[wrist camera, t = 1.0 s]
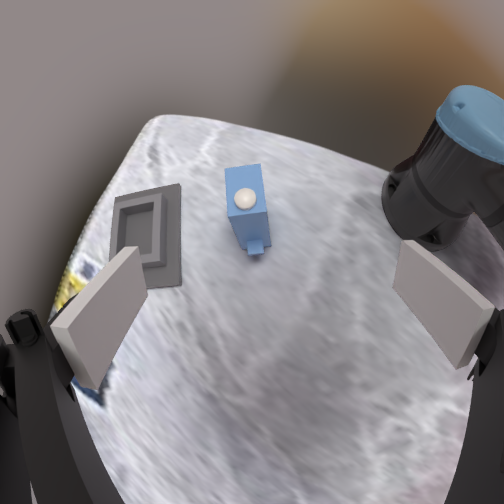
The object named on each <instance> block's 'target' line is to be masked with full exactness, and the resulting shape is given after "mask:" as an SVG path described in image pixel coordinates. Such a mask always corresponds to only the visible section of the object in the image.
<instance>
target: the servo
mask: <svg viewBox="0 0 504 504" xmlns="http://www.w3.org/2000/svg"><path fill="white" fill-rule="evenodd" d="M225 182H226V198H227V213H228V218H229V221H230V223H231V225H232V227H233V230H234V232H235V234H236V237H237V239H238V241H239V243H240V246H241V248H242V250H244V249H247V250H248V256H252V255H260V254H264V248H263V247H268V246H271V241H270V233H269V224H268V216H267V208H266V201H265V194H264V186H263V179H262V172H261V165H260V164H254V165H247V166H240V167H233V168H226V169H225Z"/></svg>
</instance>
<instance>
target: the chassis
mask: <svg viewBox="0 0 504 504" xmlns="http://www.w3.org/2000/svg"><path fill="white" fill-rule="evenodd" d="M180 207H181V186H180V184H179V183H178V184H173V185H168V186H163V187H158V188H153V189H149V190H144V191H140V192H135V193H131V194H127V195H123V196H119V197H115V202H114V210H113V218H112V228H111V239H110V253H109V262H110V261H111V260H112V259H113V258H114V257H115V256H116V255H117V254H118V253H119V252H120V251H121V250H122V249H123V248H124V247H132V246H138V247H139V253H140V258H141V264H142V269H143V274H144V279H145V284H146V288H147V289H148V288H159V287H169V286H179V285H181V248H180Z"/></svg>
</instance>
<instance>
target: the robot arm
mask: <svg viewBox="0 0 504 504" xmlns="http://www.w3.org/2000/svg"><path fill="white" fill-rule="evenodd" d="M436 113H437V114H436V117H435V119H434V121H433V123H432V124H431V126H430V128H429V130H428V132H427V134H426V135H425V137H424V139H423V140H422V142H421V144H420V146H419V147H418V149H417V151H416V152H415V154H414V155H412V156H411V157H409V158H407V159H406V160H404V161H402V162H401V163H399V164H398V165H396V166H395V167H394V168H393V169H392V170H391V172H390V173H389V175H388V177H387V178H386V180H385V182H384V185H383V189H382V204H383V208H384V212H385V214H386V217H387V219H388V221H389V223H390V224H391V226H392V227H393V229H394V230H395V231H396V232H397V234H398V235H399V236H400V237H401V238H402V239H403V240H401V246H400V252H399V258H398V263H397V268H396V273H395V278H394V283H393V287H392V288H393V289H394V290H395V291H396V292H397V294H398V295H399V296H400V297H401V298H402V300H403V301H404V302H405V303H406V304H407V306H408V307H409V308H410V309H411V311H412V312H413V313H414V314H415V316H416V317H417V318H418V319H419V321H420V322H421V323H422V325H423V326H424V327H425V328H426V330H427V331H428V332H429V334H430V335H431V336H432V338H433V339H434V340H435V342H436V343H437V344H438V346H439V347H440V348H441V350H442V351H443V352H444V354H445V355H446V357H447V358H448V359H449V361H450V362H451V364H452V365H453V367H454V368H455V369H458V368H461V367H464V366H467V365H468V364H469V363H470V361H471V359H472V357H473V355H474V353H475V354H476V355H477V357H478V360H477V361H476V363H475V365H474V367H473V369H472V370H471V372H470V374H469V376H468V378H467V380H469V379H470V378H471V376H472V375H474V378H473V380H472V381H473V390H472V398H471V405H470V412H469V418H468V423H467V428H466V433H465V438H464V442H463V446H462V450H461V454H460V458H459V462H458V465H457V468H456V472H455V475H454V478H453V481H452V484H451V487H450V490H449V492H448V495H447V498H446V500H445V503H444V504H504V309H502V310H501V311H499V310H498V309H497V308H495V306H494V305H493V304H492V303H491V302H489V301H488V300H487V299H486V298H485V297H484V296H483V295H482V294H480V293H479V292H478V291H477V290H476V289H475V288H474V287H472V286H471V285H470V284H469V283H468V282H467V281H465V280H464V279H463V278H462V277H461V276H459V275H458V274H457V273H456V272H454V271H453V270H452V269H451V268H449V267H448V266H447V265H446V264H444V263H443V262H442V261H440V260H439V259H438V258H437V257H435V256H434V255H433V254H431V253H430V252H429V251H438V250H441V249H443V248H445V247H447V246H448V245H450V244H451V243H453V242H454V241H455V240H456V239H457V238H458V237H459V235H460V234H461V232H462V230H463V228H464V226H465V224H466V222H467V220H468V218H469V216H470V214H472V213H473V212H475V213H476V214H477V215H478V217H479V218H480V219H481V220H482V221H483V223H484V224H485V225H486V227H487V228H488V229H489V231H490V232H491V233H492V235H493V236H494V237H495V239H496V240H497V242H498V243H499V244H500V246H501V247H502V249H503V250H504V100H503V99H501V98H500V97H498V96H497V95H495V94H493V93H491V92H489V91H487V90H485V89H483V88H479V87H476V86H471V85H463V86H458V87H456V88H454V89H453V90H452V91H451V92H450V93H449V95H448V97H447V98H446V100H445V101H444V103H443V104H442V105H441V106H440V107H439V108H438V110H437V112H436ZM147 296H148V293H147V288H146V284H145V279H144V274H143V269H142V264H141V258H140V253H139V247H138V246H132V247H124V248H123V249H122V250H121V251H120V252H119V253H118V254H117V255H116V256H115V257H114V258H113V259H112V260H111V261H110V262H109V263H108V264H107V265H106V266H105V267H104V268H103V269H102V270H101V271H100V272H99V273H98V274H97V275H96V276H95V277H94V278H93V279H92V280H91V281H90V282H89V283H88V284H87V285H86V286H85V287H84V288H83V289H82V290H81V291H80V293H78V294H77V295H75V296H73V297H72V298H70V299H69V300H68V301H67V302H66V303H65V304H64V305H63V308H61V309H60V310H59V311H58V313H56V314H55V315H54V317H53V318H52V319H51V320H50V321H49V322H48V323H47V325H46V326H45V327H44V328H43V329H42V327H41V324H40V322H39V320H38V318H37V315H36V313H35V311H34V310H32V309H25V310H21V311H19V312H17V313H15V314H13V315H12V316H10V317H9V319H8V320H7V321H6V324H5V327H6V329H7V331H8V332H9V335H10V337H11V339H12V340H13V343H14V344H8V345H6V343H5V341H4V339H3V337H2V335H1V334H0V387H1V388H2V389H3V391H4V392H3V396H1V395H0V504H32V497H31V486H30V481H31V484H32V488H33V491H34V494H35V497H36V500H37V503H38V504H125V503H124V501H123V500H122V498H121V496H120V495H119V493H118V491H117V489H116V487H115V486H114V484H113V482H112V480H111V478H110V476H109V474H108V472H107V470H106V468H105V466H104V464H103V462H102V460H101V458H100V456H99V454H98V451H97V449H96V447H95V445H94V442H93V440H92V438H91V435H90V433H89V430H88V428H87V425H86V422H85V420H84V417H83V414H82V411H81V408H80V405H79V402H78V399H77V396H76V393H75V390H74V388H73V386H72V384H71V383H70V382H71V380H72V378H73V377H74V375H75V377H76V379H77V381H78V382H79V384H80V386H82V387H86V388H90V389H95V390H98V388H99V386H100V384H101V382H102V380H103V378H104V376H105V374H106V372H107V370H108V368H109V366H110V364H111V362H112V360H113V358H114V356H115V354H116V352H117V350H118V348H119V347H120V345H121V343H122V341H123V339H124V337H125V335H126V334H127V332H128V330H129V328H130V326H131V324H132V323H133V321H134V319H135V317H136V316H137V314H138V312H139V310H140V308H141V307H142V305H143V303H144V302H145V300H146V298H147Z"/></svg>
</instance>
